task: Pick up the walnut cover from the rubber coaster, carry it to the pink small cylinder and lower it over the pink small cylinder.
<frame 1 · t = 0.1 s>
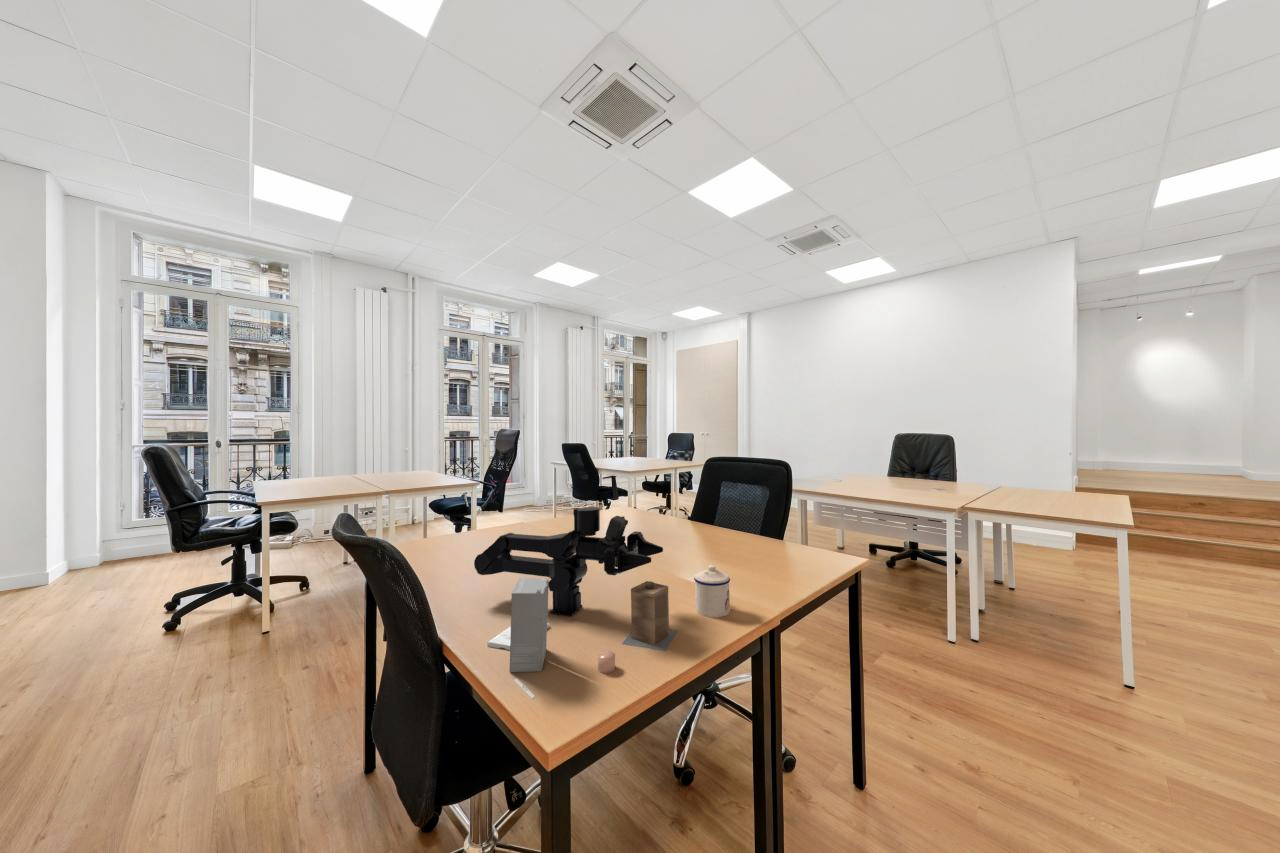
hand: (657, 554, 105), 17 cm above the table, tool horizontal, fingers open, 9 cm apart
walnut cover: (650, 636, 97), resting on rubber coaster
rubber coaster: (650, 638, 97), on the table
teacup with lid: (711, 610, 112), on the table
skincare box: (530, 663, 88), on the table
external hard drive: (519, 639, 99), on the table
pink small cylinder: (606, 670, 84), on the table
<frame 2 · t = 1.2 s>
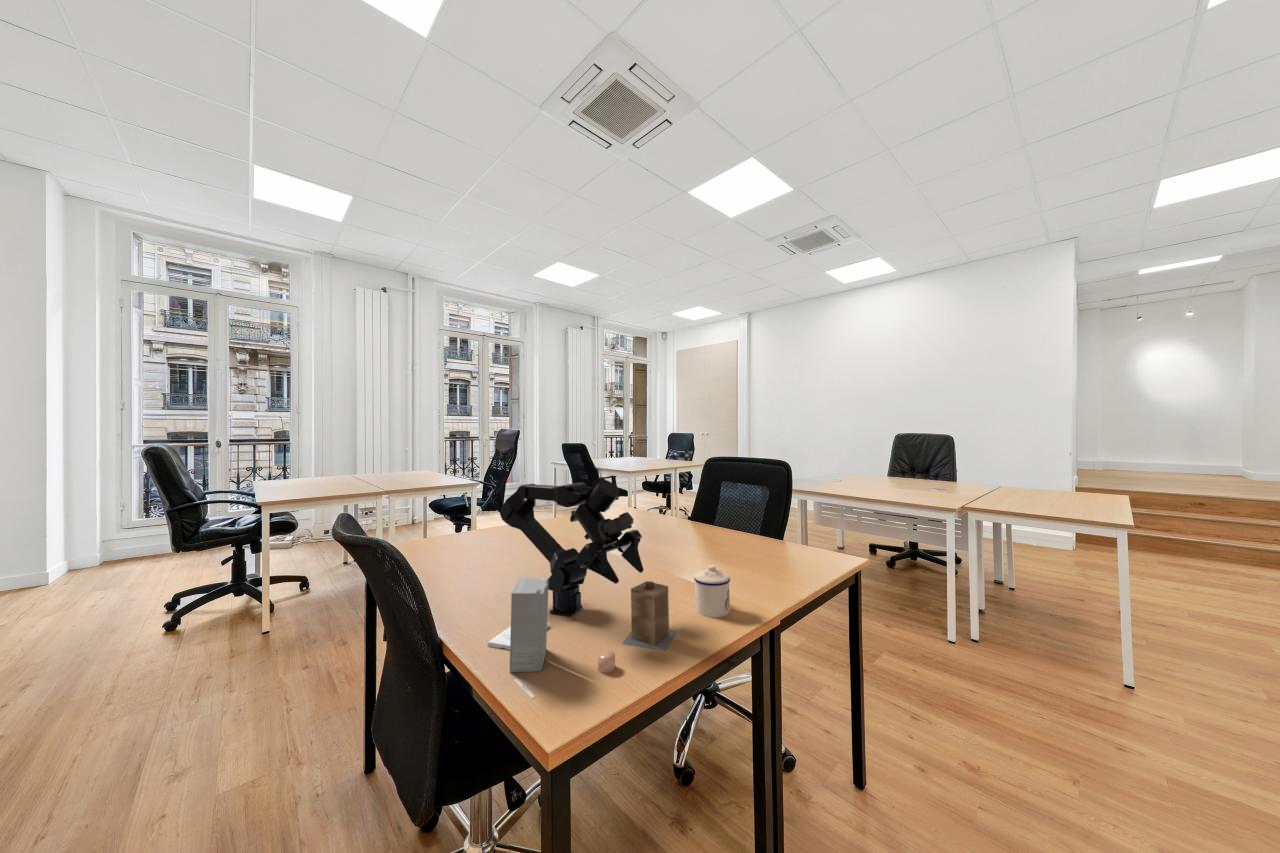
hand: (630, 576, 101), 13 cm above the table, tool tilted 45°, fingers open, 9 cm apart
nothing on the table moved.
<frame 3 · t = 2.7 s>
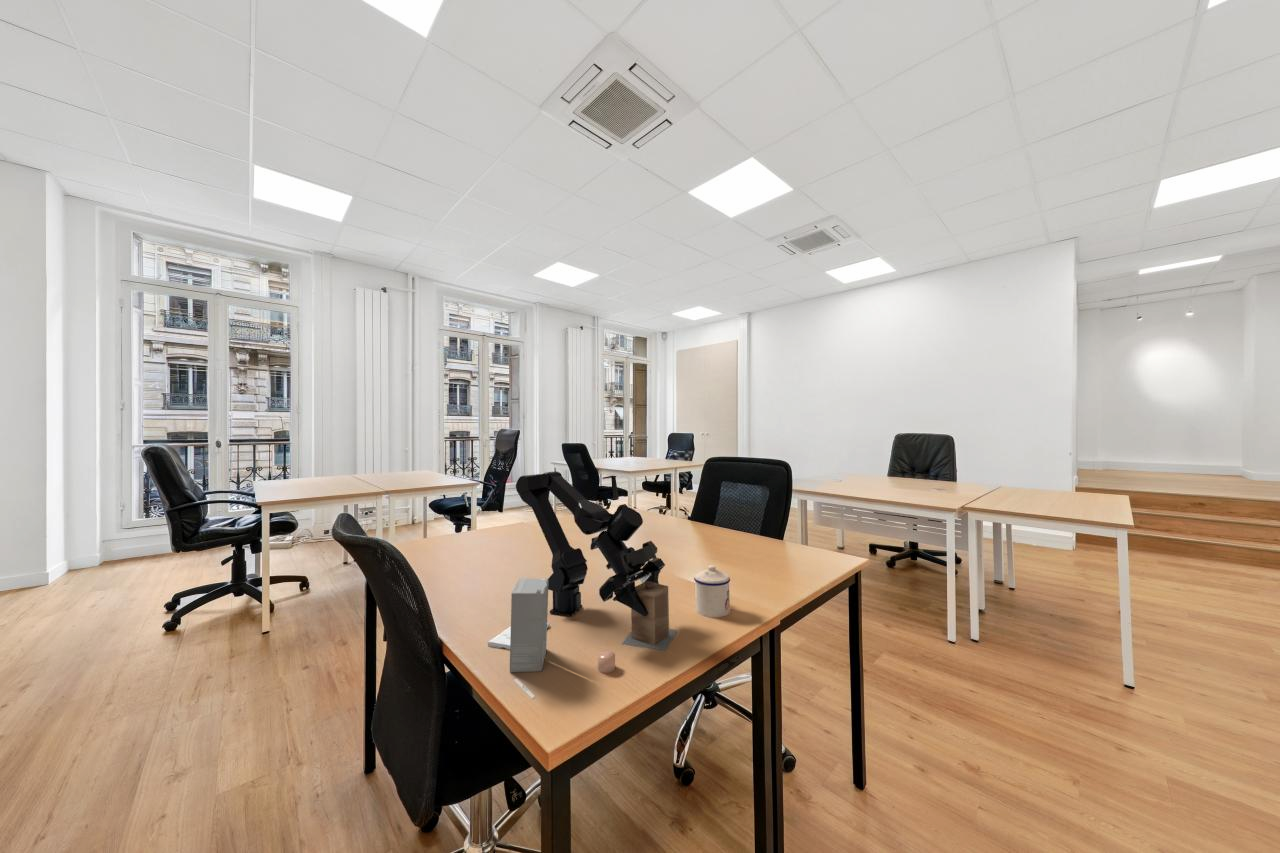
hand: (655, 610, 96), 7 cm above the table, tool tilted 45°, fingers closed on walnut cover, 6 cm apart
walnut cover: (650, 636, 97), resting on rubber coaster, touching gripper
everything else where it was.
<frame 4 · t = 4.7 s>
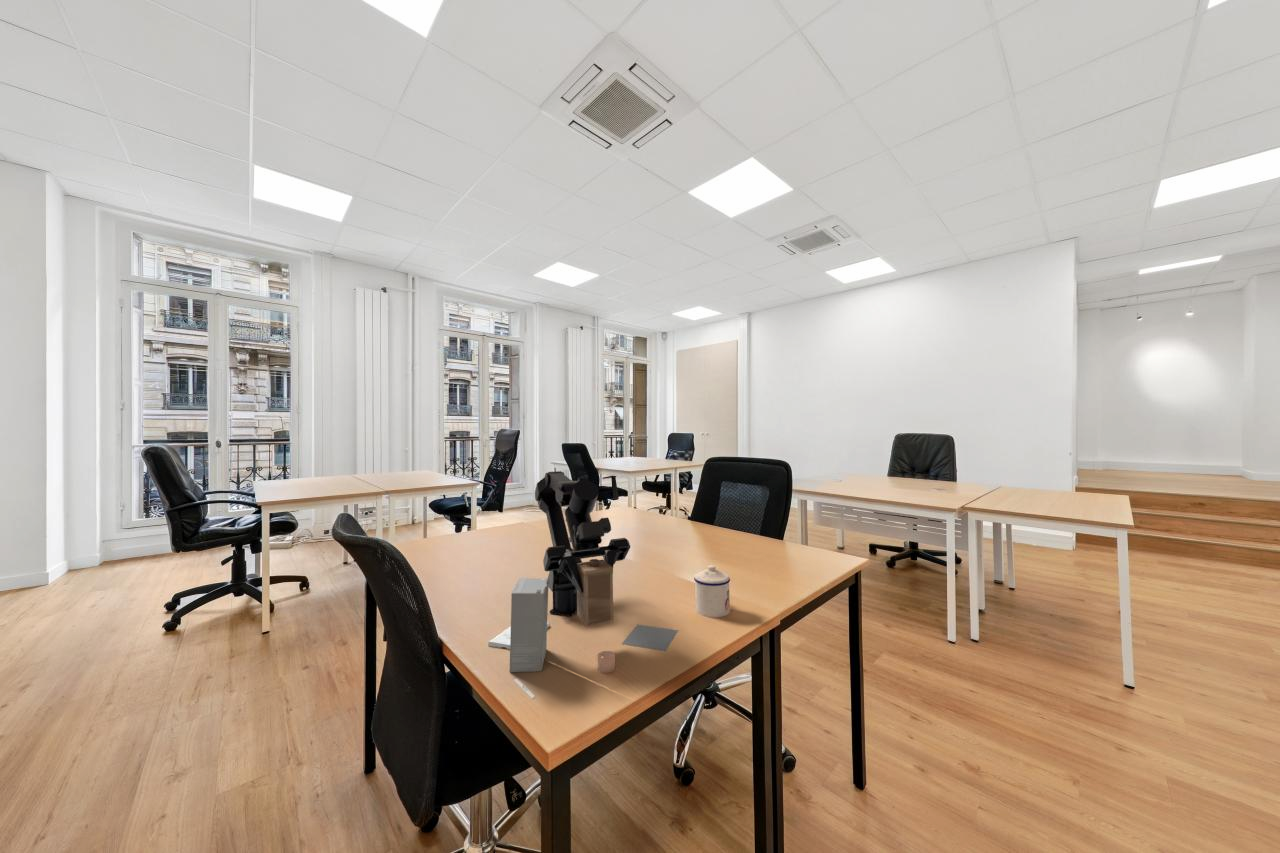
hand: (596, 589, 91), 13 cm above the table, tool tilted 45°, fingers closed on walnut cover, 6 cm apart
walnut cover: (594, 617, 92), point 7 cm above the table, touching gripper
everything else where it was.
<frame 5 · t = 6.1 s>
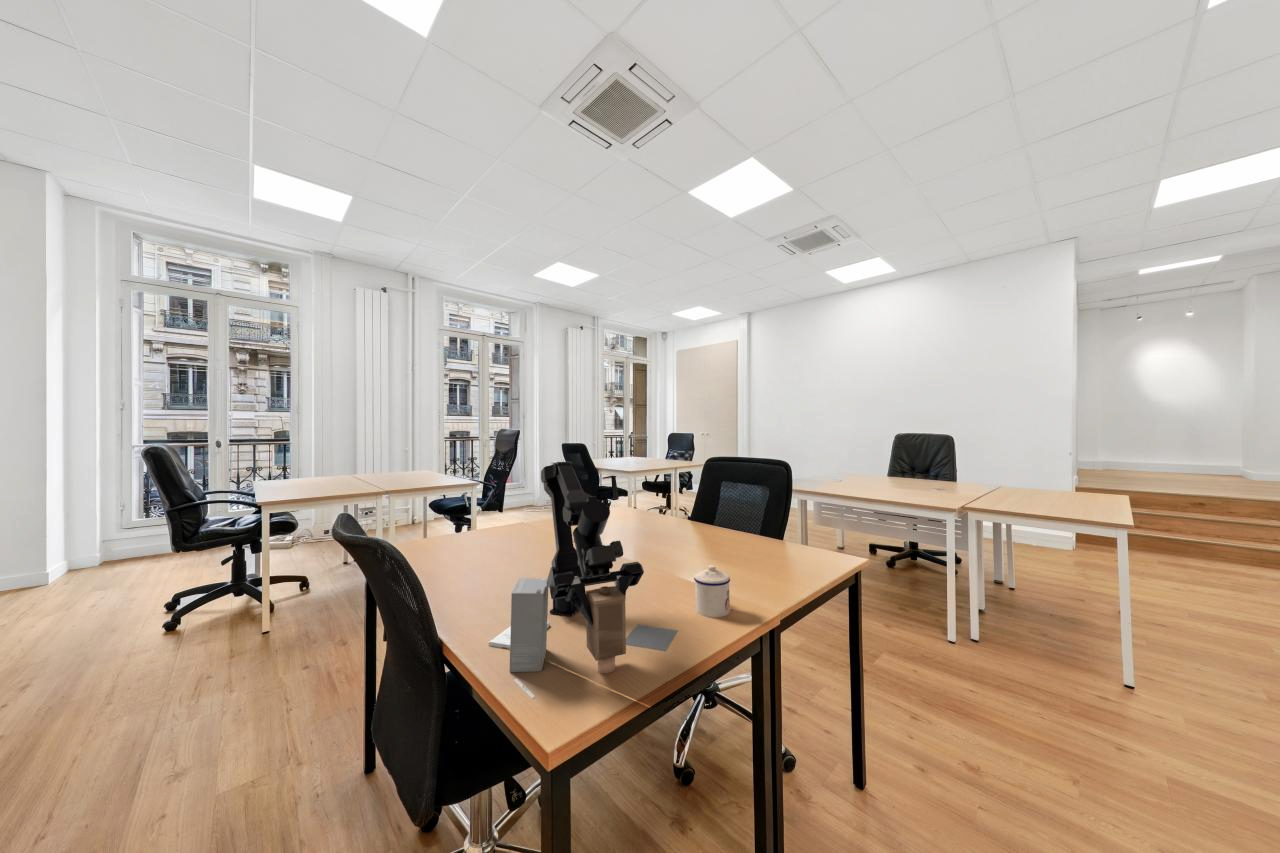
hand: (607, 620, 83), 10 cm above the table, tool tilted 45°, fingers closed on walnut cover, 6 cm apart
walnut cover: (605, 649, 84), point 4 cm above the table, touching gripper
everything else where it was.
when the fingers open (7 cm above the table, at t = 7.1 s): walnut cover drops 1 cm, on the table.
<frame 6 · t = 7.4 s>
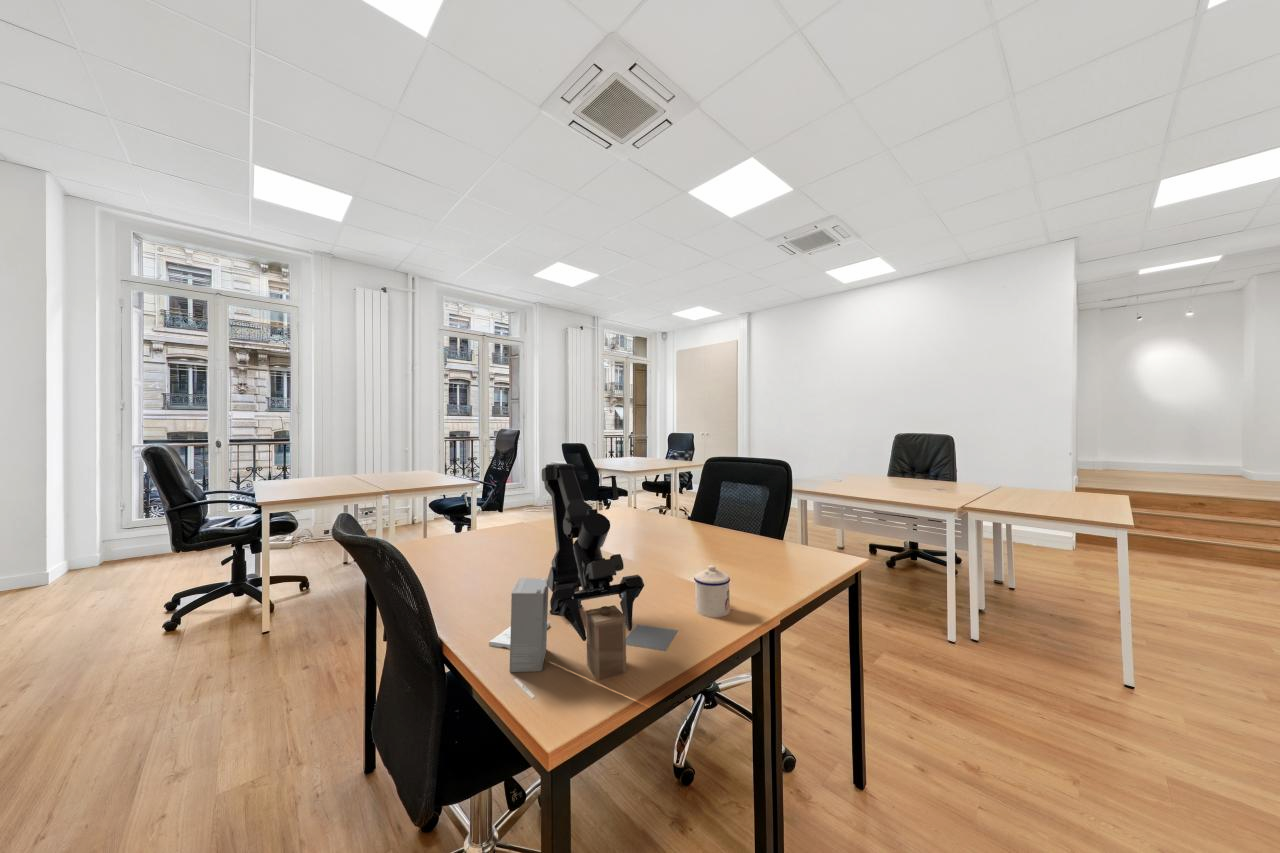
hand: (608, 635, 83), 7 cm above the table, tool tilted 45°, fingers open, 9 cm apart
walnut cover: (606, 670, 84), on the table
everything else where it was.
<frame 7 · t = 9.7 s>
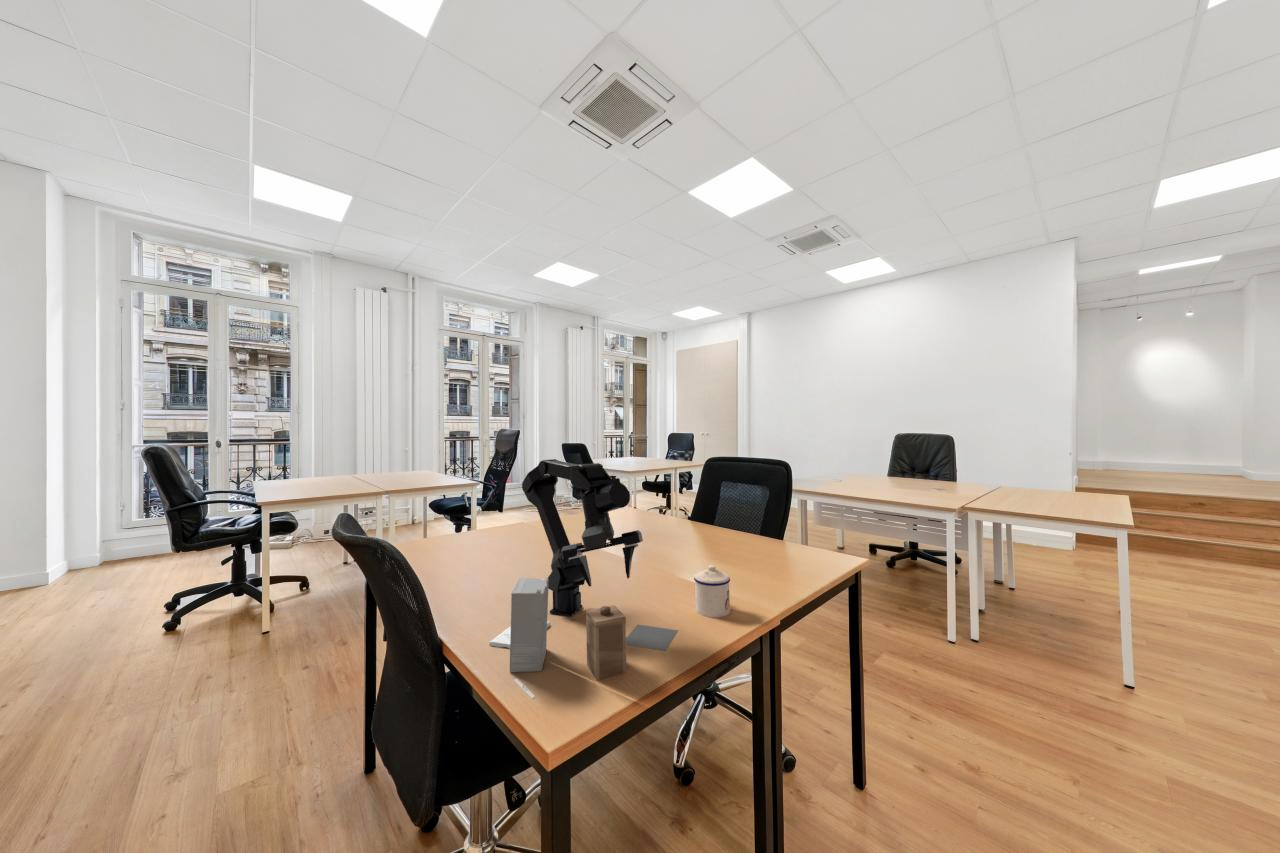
hand: (609, 582, 100), 12 cm above the table, tool tilted 15°, fingers open, 9 cm apart
nothing on the table moved.
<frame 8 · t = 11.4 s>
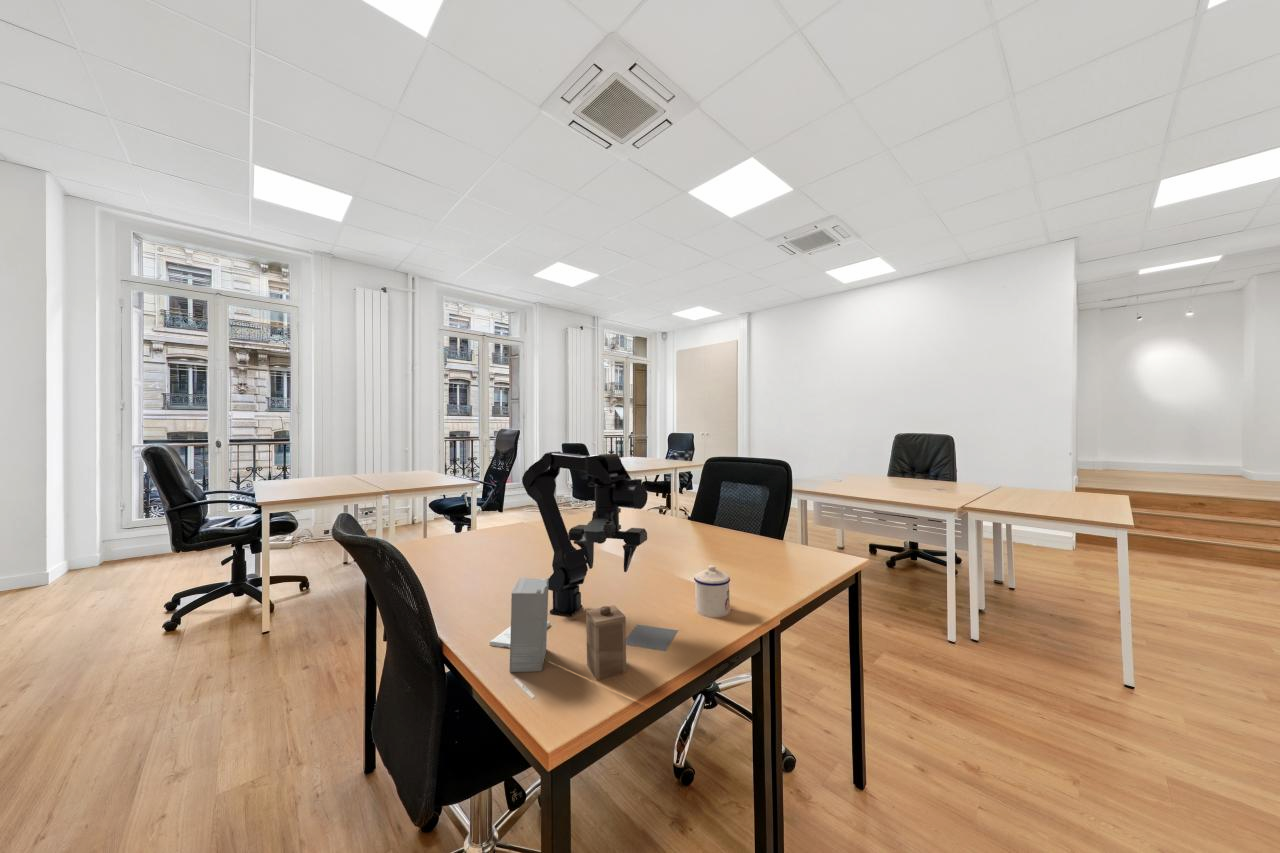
hand: (608, 570, 105), 13 cm above the table, tool pointing down, fingers open, 9 cm apart
nothing on the table moved.
at the end: walnut cover 0.0 cm from the pink small cylinder (horizontally); walnut cover on the table; walnut cover tilted 0° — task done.
